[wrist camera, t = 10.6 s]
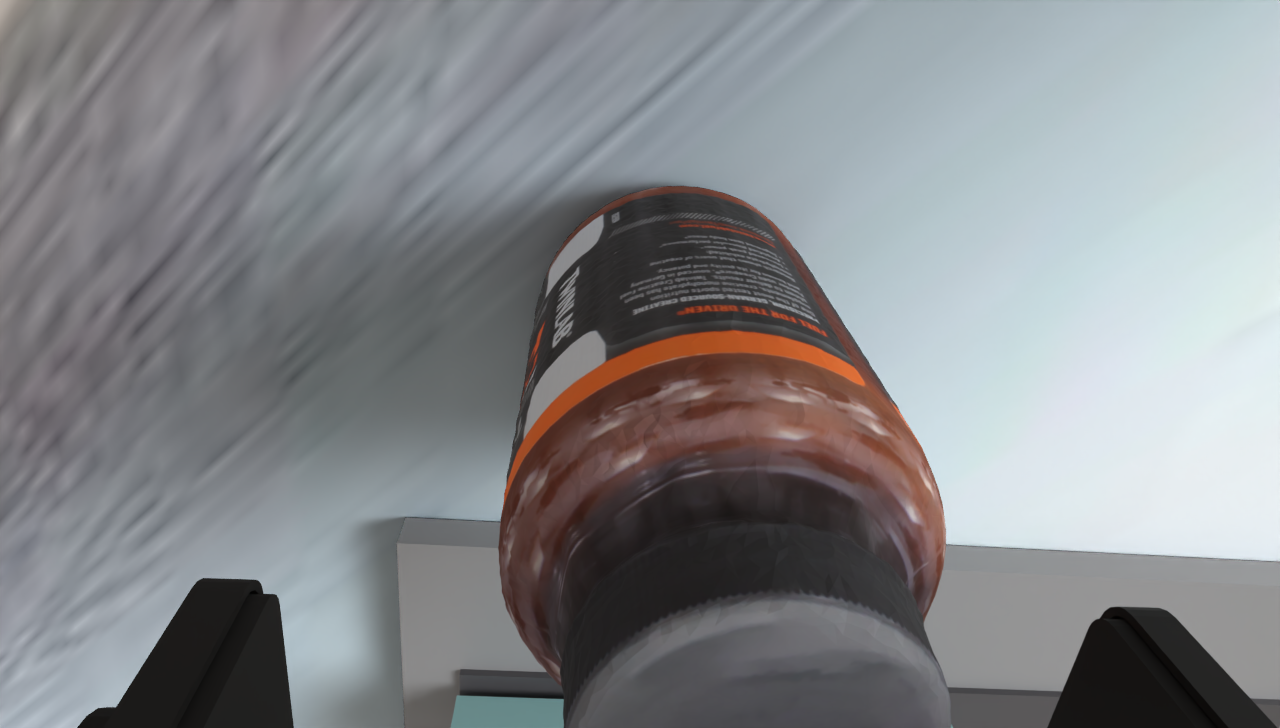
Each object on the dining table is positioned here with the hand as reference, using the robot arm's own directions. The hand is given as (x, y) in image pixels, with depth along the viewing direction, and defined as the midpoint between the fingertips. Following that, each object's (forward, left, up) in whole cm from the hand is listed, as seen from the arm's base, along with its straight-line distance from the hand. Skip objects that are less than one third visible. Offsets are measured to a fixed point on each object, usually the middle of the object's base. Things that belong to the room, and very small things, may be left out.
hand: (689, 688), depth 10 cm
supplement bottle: (-1, +1, -10) cm, 10 cm away
